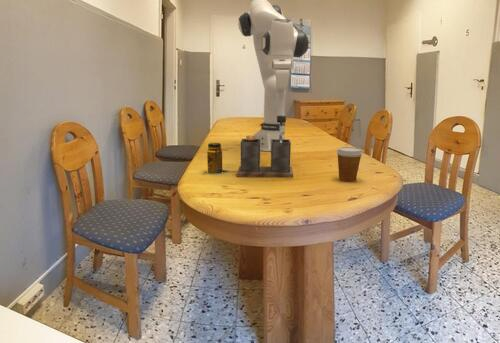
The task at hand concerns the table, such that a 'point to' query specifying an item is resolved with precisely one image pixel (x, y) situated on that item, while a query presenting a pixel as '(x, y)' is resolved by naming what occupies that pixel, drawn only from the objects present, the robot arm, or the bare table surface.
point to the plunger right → (281, 125)
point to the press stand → (278, 160)
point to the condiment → (215, 159)
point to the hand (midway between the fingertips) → (280, 101)
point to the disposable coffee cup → (348, 163)
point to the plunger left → (250, 138)
